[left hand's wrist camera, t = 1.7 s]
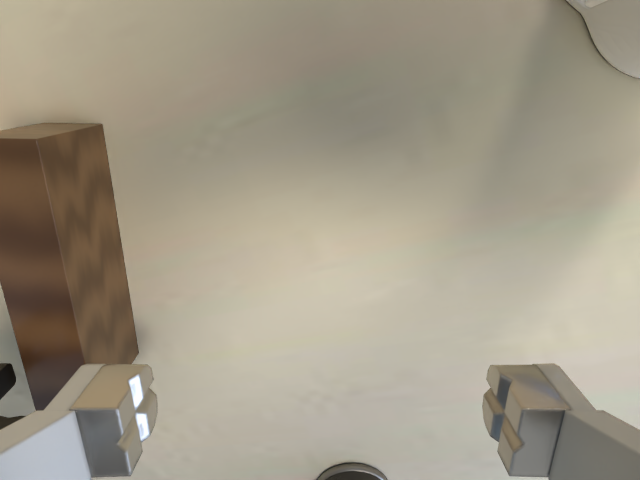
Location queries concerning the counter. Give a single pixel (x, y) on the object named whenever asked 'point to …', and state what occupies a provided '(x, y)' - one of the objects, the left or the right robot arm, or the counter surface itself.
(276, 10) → the counter surface
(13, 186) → the bar
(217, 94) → the counter surface
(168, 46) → the counter surface
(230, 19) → the counter surface
